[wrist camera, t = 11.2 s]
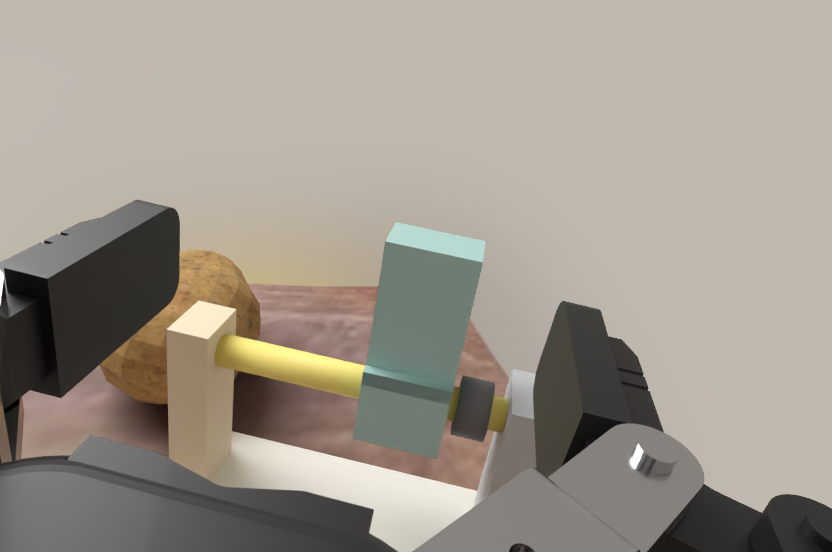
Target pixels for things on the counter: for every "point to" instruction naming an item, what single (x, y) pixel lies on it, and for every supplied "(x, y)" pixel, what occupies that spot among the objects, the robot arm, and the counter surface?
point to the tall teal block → (417, 337)
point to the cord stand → (316, 472)
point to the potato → (199, 281)
